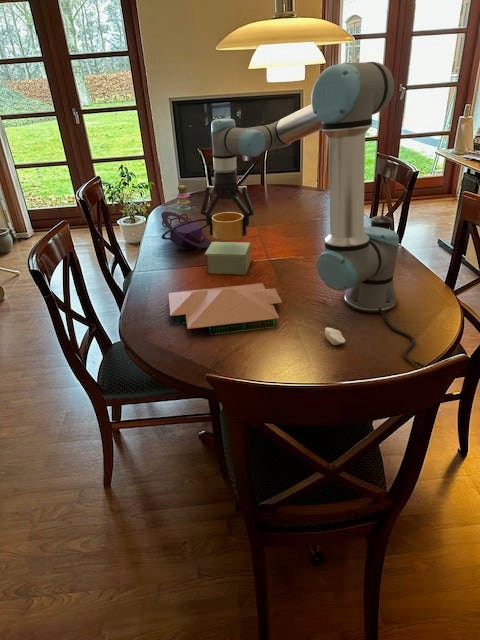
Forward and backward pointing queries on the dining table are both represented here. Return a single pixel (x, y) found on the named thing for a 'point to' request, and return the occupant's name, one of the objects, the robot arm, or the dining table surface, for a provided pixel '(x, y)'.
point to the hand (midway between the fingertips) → (228, 234)
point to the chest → (229, 264)
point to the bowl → (227, 226)
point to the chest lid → (228, 249)
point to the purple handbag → (185, 226)
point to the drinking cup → (381, 220)
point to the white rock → (334, 336)
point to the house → (225, 306)
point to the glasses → (179, 220)
